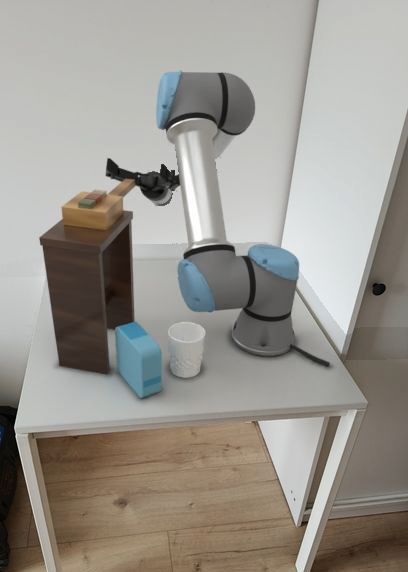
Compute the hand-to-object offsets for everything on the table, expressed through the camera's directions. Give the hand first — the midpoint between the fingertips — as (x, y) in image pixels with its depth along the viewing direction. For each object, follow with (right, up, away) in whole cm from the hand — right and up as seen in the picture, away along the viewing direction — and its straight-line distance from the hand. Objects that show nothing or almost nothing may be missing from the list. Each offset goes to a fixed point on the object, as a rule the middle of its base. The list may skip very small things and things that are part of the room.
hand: (134, 166), depth 122 cm
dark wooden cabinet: (-8, -44, -4) cm, 45 cm away
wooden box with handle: (-4, -13, -12) cm, 18 cm away
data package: (+3, -52, -14) cm, 53 cm away
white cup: (+13, -49, -9) cm, 51 cm away
